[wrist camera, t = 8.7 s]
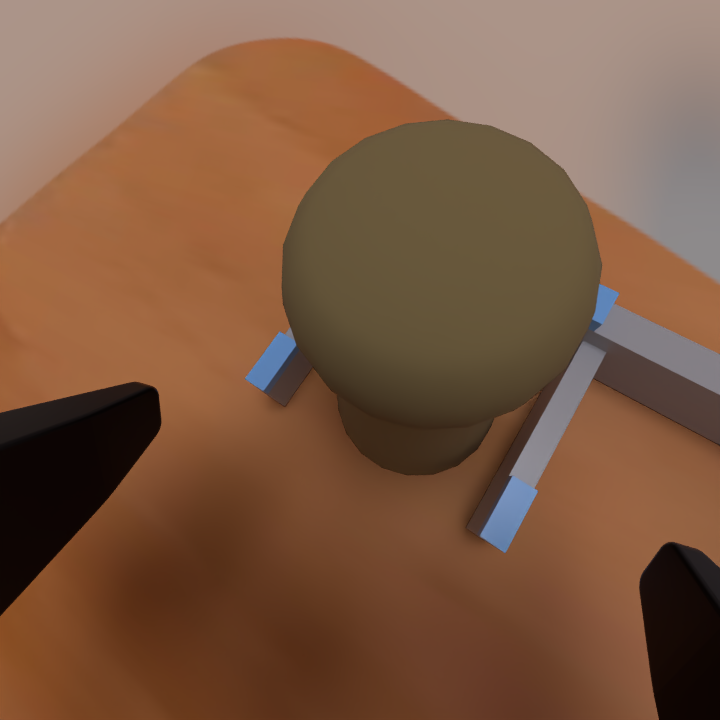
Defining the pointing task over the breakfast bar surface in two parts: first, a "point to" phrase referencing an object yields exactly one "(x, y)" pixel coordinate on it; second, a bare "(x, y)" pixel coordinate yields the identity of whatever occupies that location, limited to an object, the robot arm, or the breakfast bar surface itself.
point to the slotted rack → (564, 399)
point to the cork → (438, 286)
